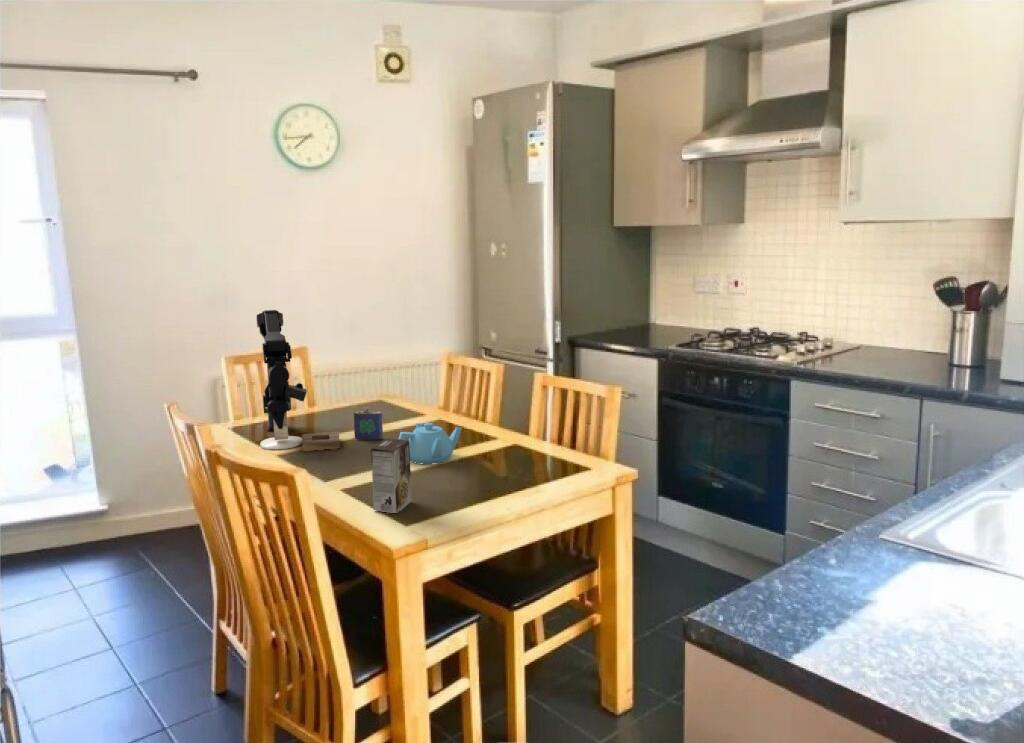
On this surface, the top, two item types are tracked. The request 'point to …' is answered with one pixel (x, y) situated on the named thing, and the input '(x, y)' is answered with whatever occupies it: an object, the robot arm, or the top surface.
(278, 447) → the plate
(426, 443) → the teapot
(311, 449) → the holder
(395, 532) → the top surface
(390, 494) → the coffee box
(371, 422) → the flask
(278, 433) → the block
